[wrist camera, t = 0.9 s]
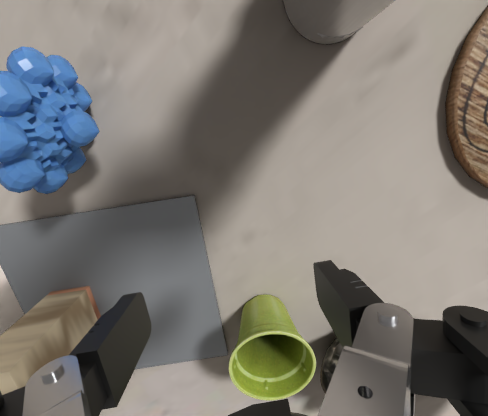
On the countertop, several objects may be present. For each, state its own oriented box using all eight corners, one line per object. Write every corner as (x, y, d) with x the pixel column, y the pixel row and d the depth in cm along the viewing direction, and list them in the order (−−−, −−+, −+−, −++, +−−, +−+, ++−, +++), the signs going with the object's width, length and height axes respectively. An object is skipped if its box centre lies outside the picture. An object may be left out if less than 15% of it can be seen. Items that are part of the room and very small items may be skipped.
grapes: (127, 184, 29) (57, 218, 18) (66, 177, 28) (-47, 207, 17) (127, 73, 26) (41, 26, 14) (58, 62, 25) (-89, 4, 14)
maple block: (50, 291, 32) (-51, 380, 21) (89, 285, 32) (8, 371, 21) (64, 323, 34) (-23, 422, 22) (101, 317, 34) (33, 414, 22)
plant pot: (227, 337, 36) (225, 399, 28) (232, 280, 33) (232, 330, 25) (290, 341, 37) (307, 402, 28) (301, 285, 34) (323, 334, 26)
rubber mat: (-14, 227, 30) (-18, 228, 29) (194, 195, 30) (193, 196, 29) (59, 377, 37) (57, 381, 36) (227, 352, 37) (227, 355, 36)
